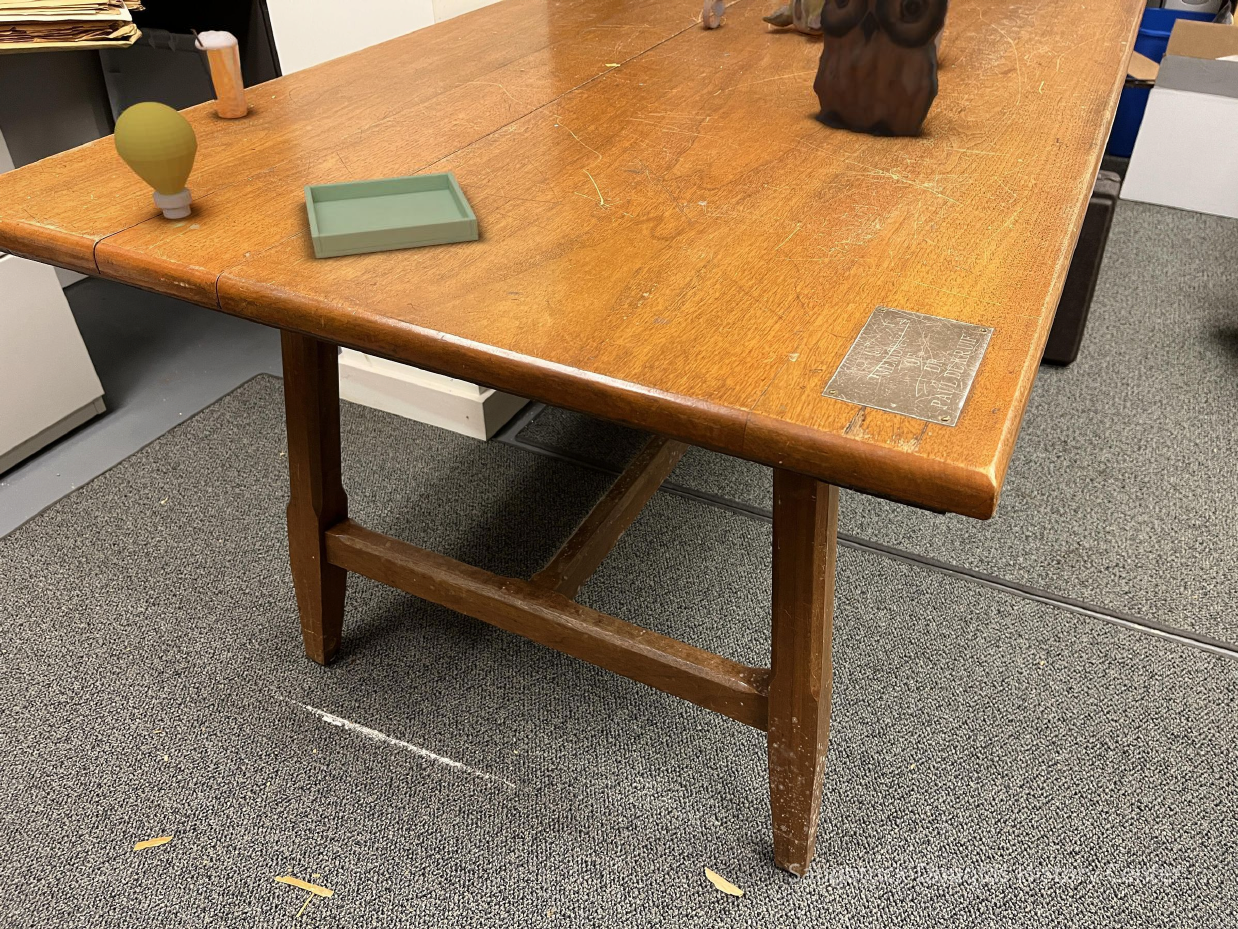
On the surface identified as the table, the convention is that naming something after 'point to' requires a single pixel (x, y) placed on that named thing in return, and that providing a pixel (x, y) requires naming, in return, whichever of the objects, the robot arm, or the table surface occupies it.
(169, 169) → the light bulb
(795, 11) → the ceramic sculpture
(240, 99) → the milkshake
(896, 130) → the owl
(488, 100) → the table surface
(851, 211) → the table surface
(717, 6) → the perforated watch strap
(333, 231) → the tray
